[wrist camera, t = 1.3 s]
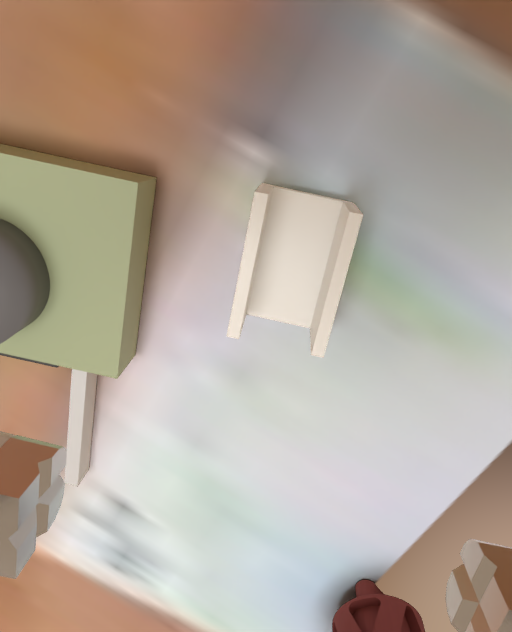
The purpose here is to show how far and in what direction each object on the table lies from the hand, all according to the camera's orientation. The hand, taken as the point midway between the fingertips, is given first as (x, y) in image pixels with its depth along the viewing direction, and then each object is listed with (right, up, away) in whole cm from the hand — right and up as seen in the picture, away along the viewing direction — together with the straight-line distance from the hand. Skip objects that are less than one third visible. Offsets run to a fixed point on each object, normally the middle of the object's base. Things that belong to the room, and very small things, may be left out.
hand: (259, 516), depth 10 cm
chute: (+2, +8, +20) cm, 22 cm away
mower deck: (-16, +4, +23) cm, 28 cm away
